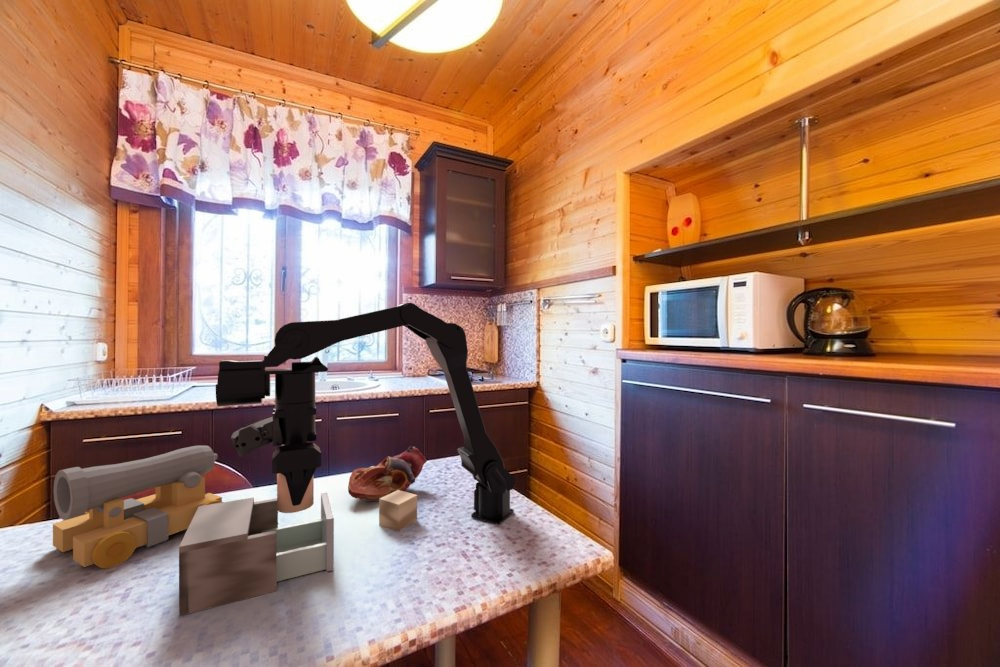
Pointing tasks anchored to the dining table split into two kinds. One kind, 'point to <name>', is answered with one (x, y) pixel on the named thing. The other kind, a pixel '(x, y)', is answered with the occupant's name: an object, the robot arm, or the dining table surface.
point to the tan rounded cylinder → (285, 500)
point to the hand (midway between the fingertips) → (296, 498)
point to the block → (398, 510)
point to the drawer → (305, 545)
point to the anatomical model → (386, 476)
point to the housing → (228, 554)
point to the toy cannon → (129, 504)
